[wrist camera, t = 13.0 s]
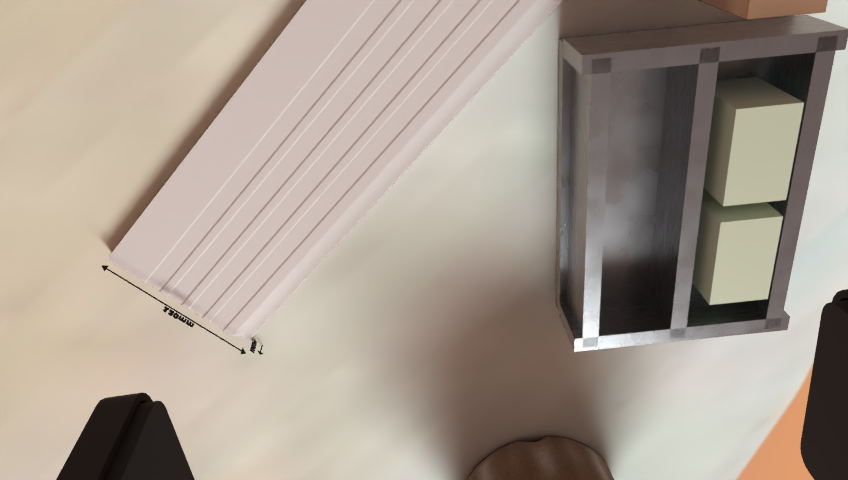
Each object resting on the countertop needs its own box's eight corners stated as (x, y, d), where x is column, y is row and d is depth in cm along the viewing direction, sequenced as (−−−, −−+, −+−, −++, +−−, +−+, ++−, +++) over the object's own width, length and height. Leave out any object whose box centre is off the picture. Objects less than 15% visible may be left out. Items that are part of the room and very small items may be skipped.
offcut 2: (685, 186, 42) (720, 222, 38) (741, 180, 42) (783, 216, 38) (677, 262, 45) (709, 305, 41) (729, 257, 45) (767, 298, 41)
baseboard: (595, -3, 38) (436, -170, 34) (610, 5, 36) (440, -173, 32) (268, 344, 48) (114, 248, 44) (262, 371, 46) (97, 271, 41)
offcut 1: (696, 82, 39) (736, 109, 35) (756, 76, 39) (804, 102, 35) (686, 171, 42) (722, 206, 38) (743, 165, 42) (786, 199, 38)
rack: (558, 34, 39) (582, 55, 34) (795, 11, 39) (849, 29, 34) (556, 307, 47) (574, 351, 43) (749, 287, 48) (787, 329, 43)
